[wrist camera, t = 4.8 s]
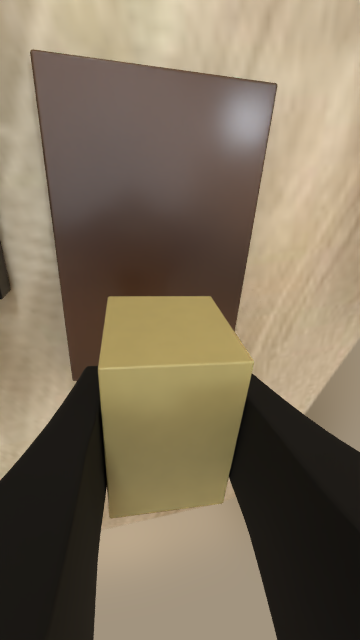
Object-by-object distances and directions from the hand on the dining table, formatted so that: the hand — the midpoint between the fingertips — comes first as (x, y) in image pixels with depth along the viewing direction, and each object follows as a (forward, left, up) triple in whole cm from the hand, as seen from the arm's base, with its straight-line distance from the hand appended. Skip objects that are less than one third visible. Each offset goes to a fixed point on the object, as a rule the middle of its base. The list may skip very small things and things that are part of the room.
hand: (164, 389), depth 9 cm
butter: (0, 0, -1) cm, 1 cm away
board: (+2, 0, -8) cm, 8 cm away
